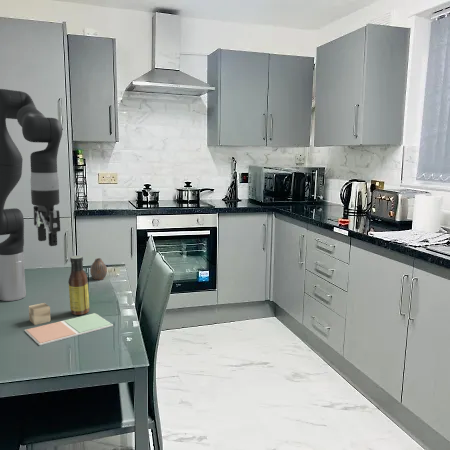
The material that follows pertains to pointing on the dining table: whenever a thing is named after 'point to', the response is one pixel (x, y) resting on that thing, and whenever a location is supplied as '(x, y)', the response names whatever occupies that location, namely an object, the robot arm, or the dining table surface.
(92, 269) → the brown rounded lump
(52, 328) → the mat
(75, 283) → the sauce bottle
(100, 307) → the dining table surface
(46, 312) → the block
